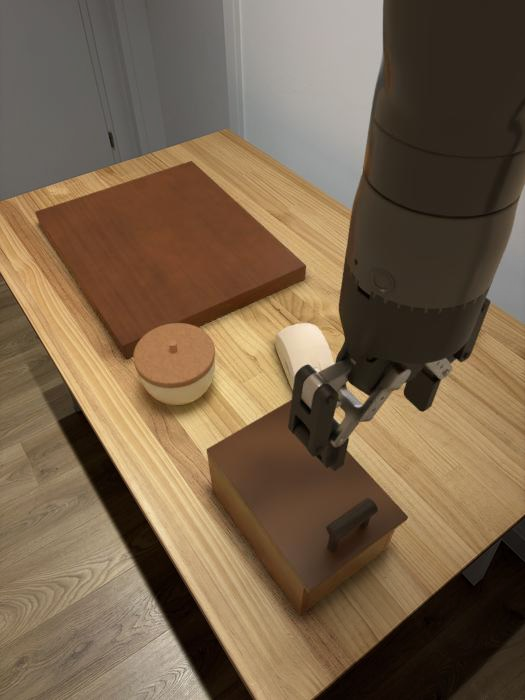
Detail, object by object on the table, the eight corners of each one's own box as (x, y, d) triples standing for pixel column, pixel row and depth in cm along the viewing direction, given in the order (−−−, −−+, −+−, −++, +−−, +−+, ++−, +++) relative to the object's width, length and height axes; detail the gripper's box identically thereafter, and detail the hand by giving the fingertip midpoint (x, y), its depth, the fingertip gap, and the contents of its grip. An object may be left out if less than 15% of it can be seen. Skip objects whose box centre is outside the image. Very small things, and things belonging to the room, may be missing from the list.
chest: (387, 548, 63) (401, 514, 56) (299, 615, 58) (303, 587, 52) (294, 440, 73) (296, 400, 66) (212, 490, 68) (206, 453, 61)
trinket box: (207, 351, 83) (202, 306, 76) (227, 406, 76) (223, 362, 69) (136, 369, 81) (124, 324, 74) (150, 427, 74) (138, 384, 67)
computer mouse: (297, 407, 76) (299, 379, 71) (271, 340, 84) (271, 311, 80) (341, 397, 77) (346, 368, 72) (311, 332, 86) (313, 303, 81)
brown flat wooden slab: (193, 173, 116) (39, 225, 104) (191, 160, 114) (34, 211, 102) (305, 279, 94) (126, 359, 82) (306, 265, 92) (122, 345, 80)
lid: (407, 520, 56) (418, 495, 52) (309, 594, 51) (313, 573, 47) (296, 400, 66) (299, 371, 62) (206, 452, 61) (202, 425, 57)
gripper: (459, 177, 33) (407, 356, 45) (263, 266, 28) (264, 442, 40) (569, 240, 29) (479, 418, 41) (365, 360, 23) (331, 523, 36)
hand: (374, 429), depth 40 cm, fingers open, 8 cm apart
